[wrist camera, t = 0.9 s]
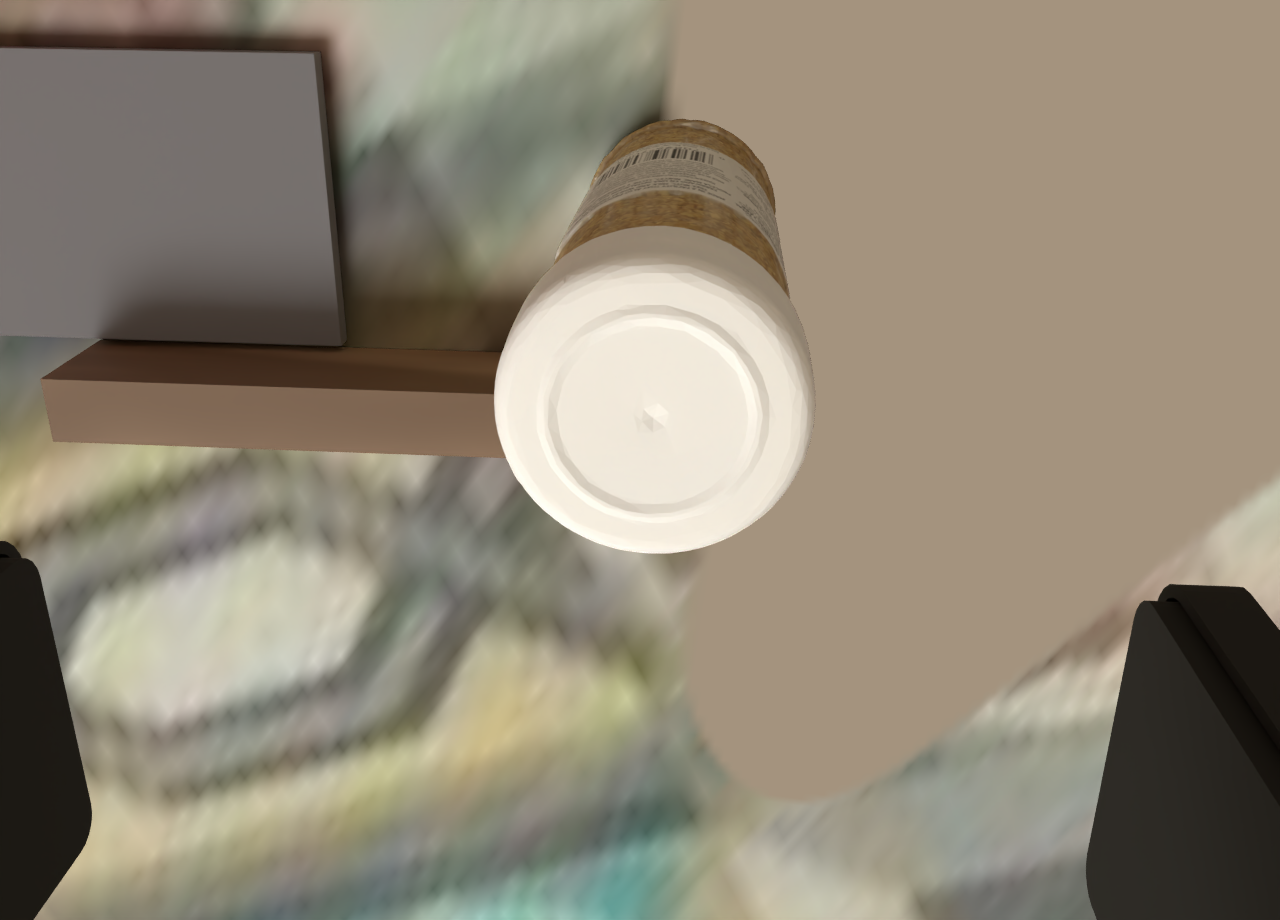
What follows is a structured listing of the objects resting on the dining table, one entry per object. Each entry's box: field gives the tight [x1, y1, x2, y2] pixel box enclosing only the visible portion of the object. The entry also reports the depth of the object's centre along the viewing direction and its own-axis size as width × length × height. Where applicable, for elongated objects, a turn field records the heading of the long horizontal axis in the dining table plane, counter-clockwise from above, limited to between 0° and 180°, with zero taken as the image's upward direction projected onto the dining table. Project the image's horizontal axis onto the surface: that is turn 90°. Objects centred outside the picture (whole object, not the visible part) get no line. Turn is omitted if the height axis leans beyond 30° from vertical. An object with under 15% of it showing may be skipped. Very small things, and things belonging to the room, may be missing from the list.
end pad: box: [0, 46, 347, 346], centre depth 29 cm, size 7×9×1 cm
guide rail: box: [41, 340, 506, 458], centre depth 30 cm, size 2×17×3 cm, turn 90°
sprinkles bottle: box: [494, 119, 816, 553], centre depth 23 cm, size 5×5×13 cm
